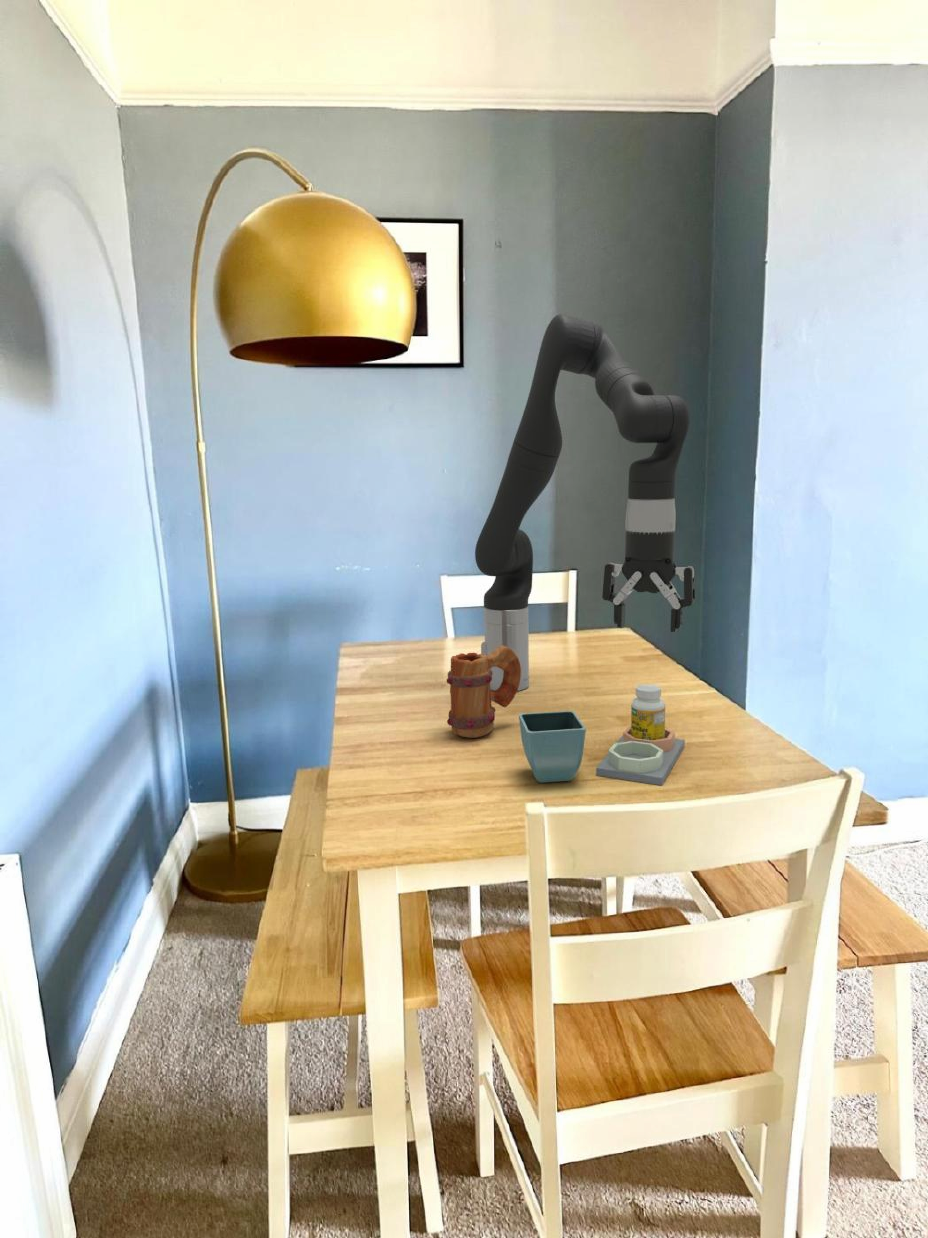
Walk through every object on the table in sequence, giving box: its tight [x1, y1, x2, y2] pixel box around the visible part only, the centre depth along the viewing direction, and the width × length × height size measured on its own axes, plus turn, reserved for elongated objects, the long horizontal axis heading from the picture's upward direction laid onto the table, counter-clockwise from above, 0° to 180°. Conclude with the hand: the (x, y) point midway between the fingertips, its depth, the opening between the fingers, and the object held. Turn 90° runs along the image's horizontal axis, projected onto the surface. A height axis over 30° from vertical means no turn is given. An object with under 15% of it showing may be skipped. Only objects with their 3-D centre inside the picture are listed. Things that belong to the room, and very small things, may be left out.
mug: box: [446, 645, 521, 739], centre depth 140 cm, size 15×8×15 cm, turn 118°
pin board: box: [595, 726, 686, 786], centre depth 126 cm, size 10×17×3 cm, turn 154°
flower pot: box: [518, 710, 587, 784], centre depth 120 cm, size 9×9×9 cm
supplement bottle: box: [630, 684, 666, 740], centre depth 129 cm, size 5×5×10 cm
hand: (647, 629), depth 127 cm, fingers open, 8 cm apart
